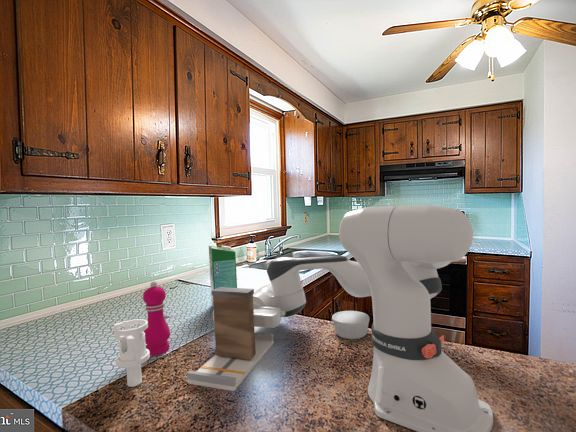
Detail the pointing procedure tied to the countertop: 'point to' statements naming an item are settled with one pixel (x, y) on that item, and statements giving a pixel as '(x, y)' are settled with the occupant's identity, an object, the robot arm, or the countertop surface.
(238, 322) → the block
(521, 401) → the countertop surface
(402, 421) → the robot arm
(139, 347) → the white cylindrical cage holder
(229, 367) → the slide board
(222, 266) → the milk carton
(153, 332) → the pepper mill
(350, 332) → the ramekin
